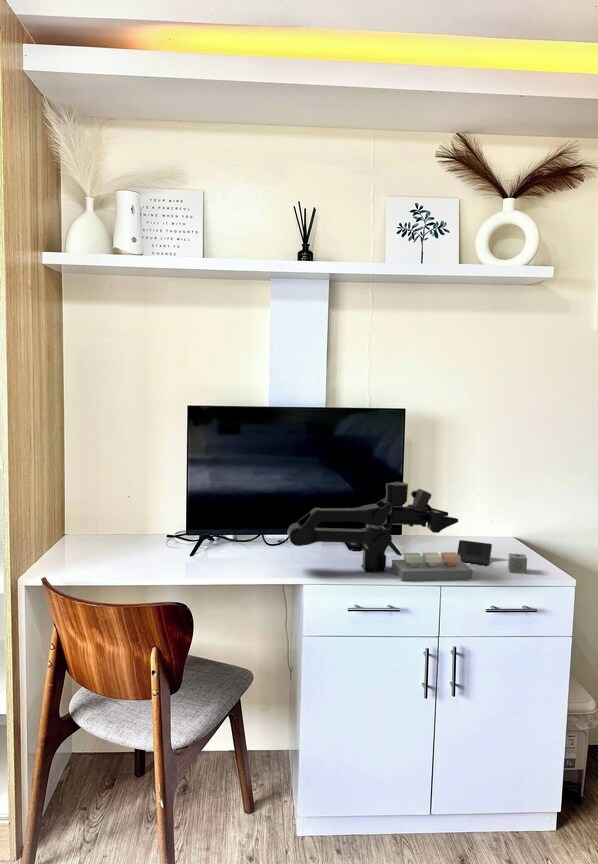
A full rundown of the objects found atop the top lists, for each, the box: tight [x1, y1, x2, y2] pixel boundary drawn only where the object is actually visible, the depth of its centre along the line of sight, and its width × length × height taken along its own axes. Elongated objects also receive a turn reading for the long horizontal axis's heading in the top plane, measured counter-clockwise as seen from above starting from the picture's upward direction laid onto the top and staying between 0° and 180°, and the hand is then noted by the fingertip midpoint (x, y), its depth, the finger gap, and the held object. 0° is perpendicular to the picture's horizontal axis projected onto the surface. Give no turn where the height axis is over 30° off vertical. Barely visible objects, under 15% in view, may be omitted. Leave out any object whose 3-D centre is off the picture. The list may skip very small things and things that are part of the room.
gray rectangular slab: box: [391, 558, 474, 582], centre depth 216 cm, size 22×12×3 cm, turn 98°
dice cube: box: [507, 552, 528, 575], centre depth 221 cm, size 5×5×5 cm
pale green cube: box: [403, 552, 423, 567], centre depth 215 cm, size 5×5×5 cm
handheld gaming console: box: [456, 539, 493, 567], centre depth 232 cm, size 12×7×10 cm
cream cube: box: [421, 552, 442, 566], centre depth 215 cm, size 5×5×5 cm
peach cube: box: [440, 551, 460, 566], centre depth 216 cm, size 5×5×5 cm
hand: (453, 517), depth 221 cm, fingers open, 9 cm apart
